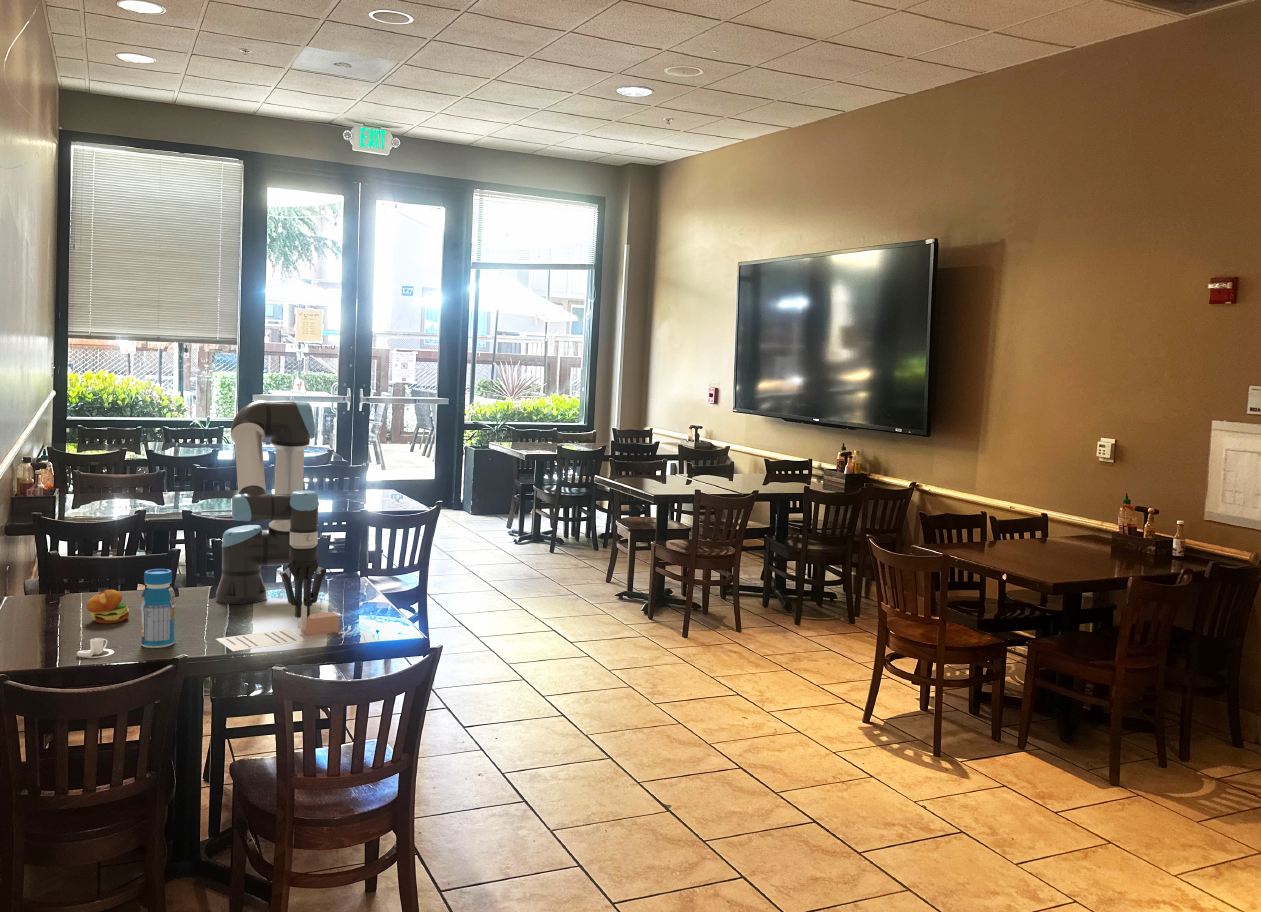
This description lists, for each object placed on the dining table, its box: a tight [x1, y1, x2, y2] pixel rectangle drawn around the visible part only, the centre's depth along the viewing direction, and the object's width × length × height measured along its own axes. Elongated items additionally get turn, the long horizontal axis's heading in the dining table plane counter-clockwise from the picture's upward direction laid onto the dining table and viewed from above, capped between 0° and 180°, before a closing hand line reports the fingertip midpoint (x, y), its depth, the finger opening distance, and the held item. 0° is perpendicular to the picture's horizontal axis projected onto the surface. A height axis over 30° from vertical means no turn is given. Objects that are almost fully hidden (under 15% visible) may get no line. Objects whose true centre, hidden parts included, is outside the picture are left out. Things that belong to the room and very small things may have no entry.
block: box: [300, 611, 340, 637], centre depth 291 cm, size 5×5×9 cm
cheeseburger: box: [86, 589, 130, 624], centre depth 293 cm, size 10×11×10 cm
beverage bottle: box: [140, 568, 176, 649], centre depth 271 cm, size 8×8×20 cm
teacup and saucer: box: [76, 637, 115, 659], centre depth 262 cm, size 9×8×4 cm
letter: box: [215, 628, 307, 652], centre depth 280 cm, size 14×20×1 cm
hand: (302, 628), depth 287 cm, fingers closed
